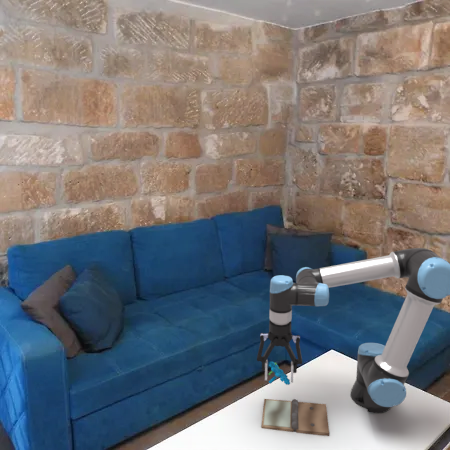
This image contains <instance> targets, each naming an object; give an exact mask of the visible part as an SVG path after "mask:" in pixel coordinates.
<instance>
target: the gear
mask: <svg viewBox="0 0 450 450" xmlns="http://www.w3.org/2000/svg"><path fill="white" fill-rule="evenodd" d="M268 367H270V371H269V373H267V376H271V374H273V375H274V376H272V378H271V379H269V380H268V383H269V384H272V383H273V382H275V380H276V379H279V380H280V382H281V383H284V384H285V385H286V386H290V384H291V379H289V378H288V375H287V374H286V373H284V370H283V369H281V368H280V366H279V365H278V363H277V362H274V361H268Z"/></svg>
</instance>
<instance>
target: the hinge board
mask: <svg viewBox="0 0 450 450" xmlns="http://www.w3.org/2000/svg"><path fill="white" fill-rule="evenodd" d="M262 407H263V408H262V417H261V419H262V420H261V429H264V430H272V431H274V430H275V431H281V432H287V433H288V432H289V433H297V434H306V435H313V436H314V435H317V436H324V437H325V436H326V437H330V428H329V419H328V410H327V403H316V402H305V401H298V399H295V398H293V399H292V400H283V399H282V400H281V399H270V398H263V406H262Z"/></svg>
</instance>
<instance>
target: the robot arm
mask: <svg viewBox="0 0 450 450" xmlns="http://www.w3.org/2000/svg"><path fill="white" fill-rule="evenodd" d="M392 277H394V278H396V279H402V278H403V279H404V278H406V279H407V281H406V284H405V285H404V286H405V287H404V290H405V291H406V296H405V300H404V301H403V303H402V305H401V308H400V311H399V313H398V315H397V318H396V320H395V322H394V324H393V327H392V329H391V332H390V334H389V336H388V338H387V341H386V343H385V345H384V344H381V343H377V342H365V343H361V344H360V345H359V346H358V351H357V362H356V375H355V377H356V378H355V381H354V383H353V385H352V388H351V390H350V399H351V400H352V402H354V403H355V404H356V405H358V406H359V407H361V408H363V409H366V411H367V412H368V413H372V414H381V413H385V412H387V411H389V410H391V407H395V406H399V405H400V404H402V403H403V401H405V399H406V397H407V388H406V386H405V383H406V381H407V379H408V377H409V375H410V372H409V370H408V367H407V366H408V364H409V362H410V360H411V358H412V356H413V353H414V351H415V348H416V346H417V344H418V342H419V340H420V337H421V335H422V333H423V331H424V328H425V327H426V324H427V322H428V320H429V317H430V315H431V313H432V311H433V308H434V307H435V306H437V305H441V304H442V301H443V299H445V298H446V297H447V296H450V262H448V261H447V260H446V259H445V258H443V257H441V256H439V255H438V254H437V253H436V252H435V251H433V250H432V249H428V248H424V247H413V248H407V249H406V248H405V249H401V250H395V251H391V252H390V253H389V255H383V256H379V257H374V258H373V257H372V258H368V259H362V260H358V261H356V260H355V261H351V262H346V263H341V264H337V265H336V264H335V265H331V266H330V265H329V266H325V267H319V268H314V269H313V268H311V267H308V266H305V267H301V268H299V270H298V271H297V272H296V276H295V282H294V281H293V278H292V277H291V276H289V275H283V274H282V275H275V276H273V277H272V278H271V279H270V283H269V323H268V324H269V325H268V330H269V331H268V332H267V333H263V332H261V333H260V336H259V339H260V343H259V347H258V352H257V355H256V361H257V362H261V370H262V372H263V371H264V381H268V374H269V373H268V372H269V371H268V367H269V360H268V359H269V357H270V354H271V353H272V351H273V349H274V348H275V347H282V348H283V347H284V348H285V350H286V352H287V354H288V356H289V358H290V361H291V362H290V383H291V384H292V383H293V382H294V374H296V373H297V371H298V368H297V367H298V365H302V364H303V356H302V351H301V345H300V343H301V335H299V334H297V335H293V333H292V320H293V319H292V317H293V314H292V313H293V306H301V307H302V306H303V307H306V306H307V307H315V308H316V307H317V308H318V307H326V306H327V305H328V304H329V302H330V301H329V300H330V290H329V288H335V287H340V286H345V285H346V286H347V285H353V284H358V283H362V282H363V283H364V282H370V281H375V280H380V279H387V278H392ZM267 339H268V340H270V343H269V344H268V347H267V348H266V350H265V352H264V353H263V349H264V346H265V341H267ZM292 340H293V342H294V344H295V350H296V355H297V357H296V355H295V352H294V351H293V349H292V347H291V343H290V342H291V341H292ZM262 354H263V356H262Z"/></svg>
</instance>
